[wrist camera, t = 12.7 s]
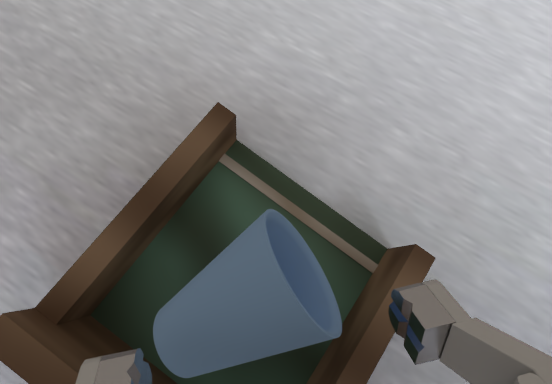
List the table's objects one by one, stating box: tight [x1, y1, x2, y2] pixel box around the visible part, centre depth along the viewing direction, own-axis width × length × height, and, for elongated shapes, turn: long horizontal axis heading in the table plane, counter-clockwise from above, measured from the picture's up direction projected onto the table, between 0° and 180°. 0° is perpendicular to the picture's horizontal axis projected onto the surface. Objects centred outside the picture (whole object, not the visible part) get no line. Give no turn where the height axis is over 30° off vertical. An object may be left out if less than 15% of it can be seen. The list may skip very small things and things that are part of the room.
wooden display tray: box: [0, 102, 435, 384], centre depth 16 cm, size 14×14×6 cm
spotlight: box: [153, 209, 342, 378], centre depth 14 cm, size 5×10×7 cm
